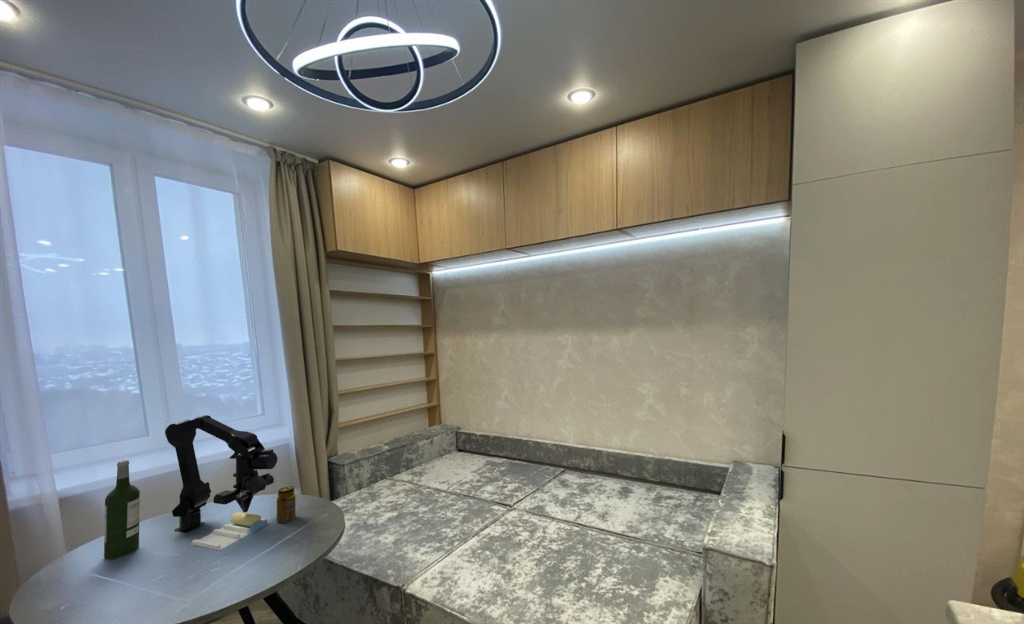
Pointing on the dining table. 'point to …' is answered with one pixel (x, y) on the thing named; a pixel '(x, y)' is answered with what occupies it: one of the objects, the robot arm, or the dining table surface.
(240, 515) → the cream soap bar
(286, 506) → the condiment
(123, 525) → the wine bottle
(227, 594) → the dining table surface
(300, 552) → the dining table surface
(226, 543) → the white slotted organizer tray
